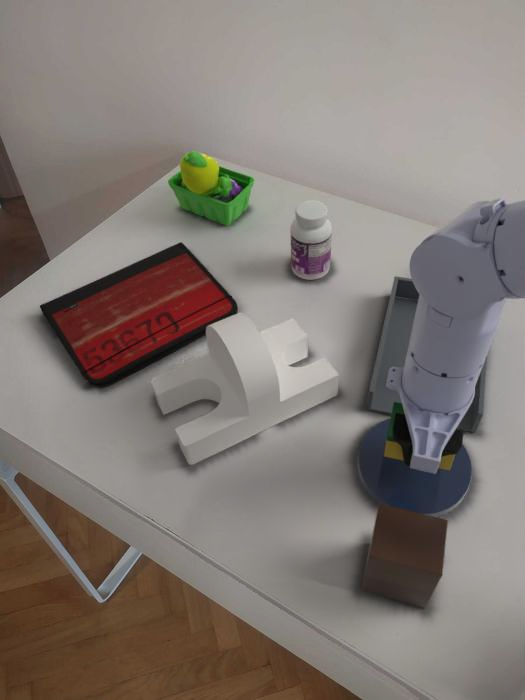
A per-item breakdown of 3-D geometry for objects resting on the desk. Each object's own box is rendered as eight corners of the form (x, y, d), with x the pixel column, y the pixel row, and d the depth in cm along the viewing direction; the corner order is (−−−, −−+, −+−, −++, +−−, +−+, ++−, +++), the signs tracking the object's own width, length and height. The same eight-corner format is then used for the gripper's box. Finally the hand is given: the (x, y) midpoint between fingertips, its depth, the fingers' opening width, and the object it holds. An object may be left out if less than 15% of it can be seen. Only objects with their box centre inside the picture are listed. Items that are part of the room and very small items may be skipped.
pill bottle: (284, 262, 79) (282, 203, 72) (318, 251, 81) (319, 191, 73) (302, 286, 76) (302, 227, 69) (337, 273, 77) (341, 214, 70)
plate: (465, 532, 53) (468, 527, 52) (347, 503, 56) (348, 497, 55) (472, 434, 60) (475, 428, 59) (367, 412, 62) (368, 406, 62)
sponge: (449, 470, 53) (456, 450, 50) (383, 456, 54) (387, 436, 51) (453, 434, 55) (460, 413, 52) (390, 422, 57) (393, 401, 54)
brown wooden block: (425, 608, 49) (442, 574, 43) (361, 590, 50) (369, 555, 44) (431, 558, 52) (448, 519, 46) (370, 542, 53) (378, 502, 47)
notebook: (37, 303, 73) (180, 238, 80) (43, 316, 75) (183, 251, 82) (90, 386, 65) (244, 306, 72) (95, 398, 66) (245, 318, 74)
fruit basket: (259, 206, 88) (254, 138, 80) (225, 238, 84) (216, 169, 75) (200, 186, 93) (190, 119, 84) (165, 215, 88) (150, 147, 80)
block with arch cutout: (293, 339, 70) (292, 270, 62) (337, 395, 64) (342, 327, 56) (155, 399, 65) (134, 333, 57) (189, 466, 59) (171, 403, 51)
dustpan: (475, 432, 60) (483, 414, 57) (366, 409, 63) (368, 391, 60) (487, 275, 76) (493, 255, 73) (399, 262, 78) (402, 242, 76)
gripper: (406, 279, 49) (388, 376, 60) (379, 413, 41) (363, 501, 51) (492, 292, 48) (458, 390, 58) (483, 435, 39) (445, 521, 49)
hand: (419, 443), depth 54 cm, fingers closed on sponge, 4 cm apart
